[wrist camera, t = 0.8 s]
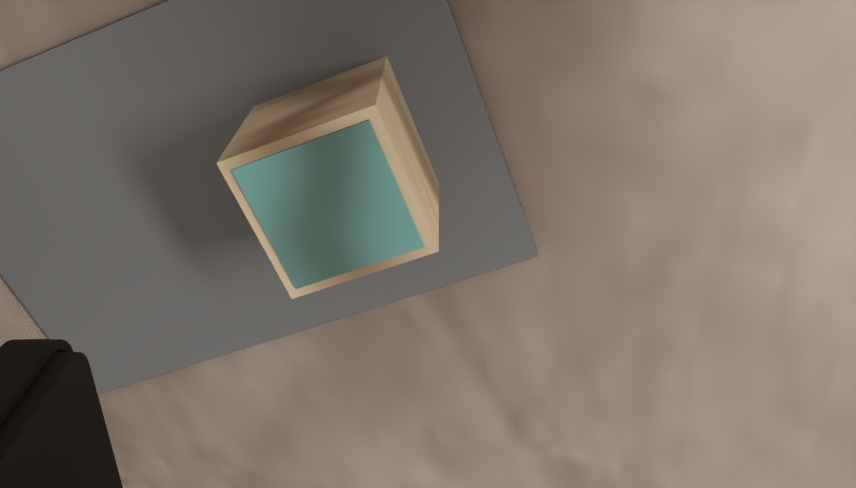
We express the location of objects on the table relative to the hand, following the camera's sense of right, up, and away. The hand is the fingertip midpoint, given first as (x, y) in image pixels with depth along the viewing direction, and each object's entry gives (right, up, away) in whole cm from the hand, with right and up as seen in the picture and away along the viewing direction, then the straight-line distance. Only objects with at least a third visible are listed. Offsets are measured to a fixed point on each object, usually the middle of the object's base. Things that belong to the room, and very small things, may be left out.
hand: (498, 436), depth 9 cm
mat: (-10, +5, +25) cm, 27 cm away
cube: (-4, +6, +24) cm, 25 cm away
